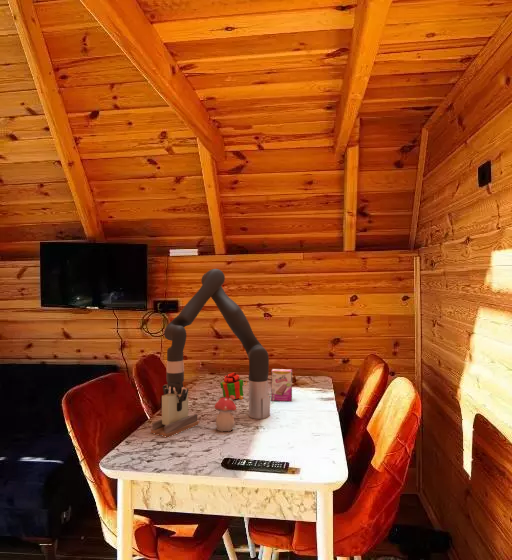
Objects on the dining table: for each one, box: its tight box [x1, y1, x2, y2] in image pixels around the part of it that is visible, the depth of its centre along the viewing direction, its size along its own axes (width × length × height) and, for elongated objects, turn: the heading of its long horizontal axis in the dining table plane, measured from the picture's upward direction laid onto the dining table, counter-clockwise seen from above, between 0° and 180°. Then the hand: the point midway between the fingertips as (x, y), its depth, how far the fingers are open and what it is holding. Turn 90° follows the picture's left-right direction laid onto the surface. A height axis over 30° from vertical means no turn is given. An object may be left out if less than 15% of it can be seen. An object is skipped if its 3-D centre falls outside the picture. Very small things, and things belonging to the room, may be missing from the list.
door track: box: [150, 413, 200, 438], centre depth 181 cm, size 10×19×4 cm, turn 146°
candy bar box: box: [270, 368, 293, 402], centre depth 224 cm, size 11×5×16 cm, turn 84°
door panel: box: [161, 393, 189, 425], centre depth 181 cm, size 4×12×12 cm, turn 146°
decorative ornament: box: [214, 395, 237, 432], centre depth 179 cm, size 9×7×15 cm
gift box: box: [219, 372, 249, 401], centre depth 227 cm, size 20×19×14 cm
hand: (175, 409), depth 181 cm, fingers closed on door panel, 4 cm apart
